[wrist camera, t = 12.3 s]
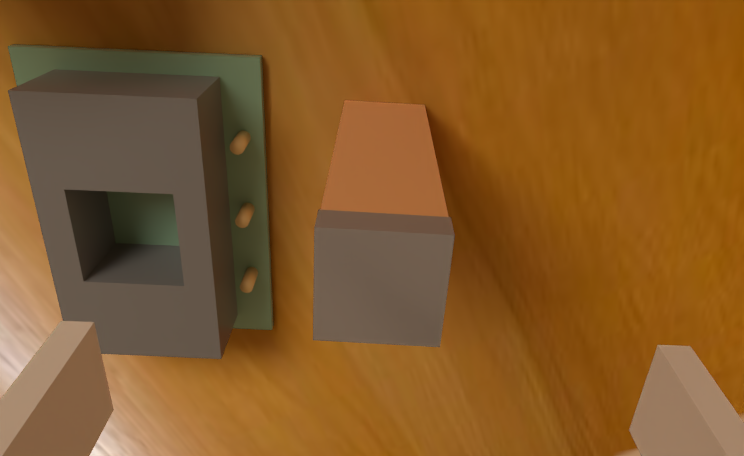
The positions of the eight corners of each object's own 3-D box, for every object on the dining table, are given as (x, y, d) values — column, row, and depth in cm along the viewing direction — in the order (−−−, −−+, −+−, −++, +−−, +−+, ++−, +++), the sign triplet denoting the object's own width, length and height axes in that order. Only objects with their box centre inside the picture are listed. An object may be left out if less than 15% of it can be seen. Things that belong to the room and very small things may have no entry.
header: (13, 44, 29) (-46, 64, 25) (262, 55, 29) (242, 77, 25) (75, 316, 36) (36, 365, 32) (273, 325, 36) (259, 375, 32)
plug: (343, 99, 30) (314, 226, 18) (425, 103, 30) (454, 235, 18) (341, 175, 32) (313, 339, 19) (418, 179, 32) (439, 347, 19)
